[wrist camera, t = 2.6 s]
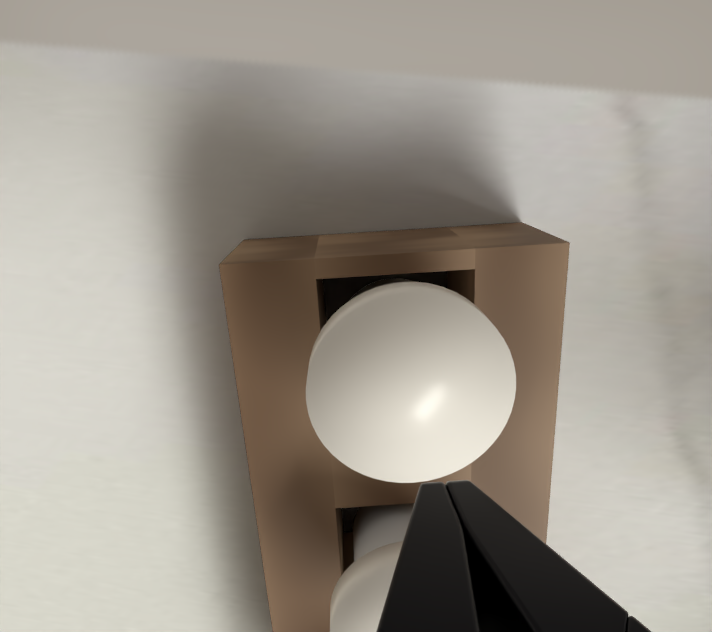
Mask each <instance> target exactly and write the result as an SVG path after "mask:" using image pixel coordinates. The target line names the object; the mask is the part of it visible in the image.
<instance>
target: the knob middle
mask: <svg viewBox="0 0 712 632" xmlns="http://www.w3.org/2000/svg"><path fill="white" fill-rule="evenodd" d="M413 507H414V503H408V504H393V505H378V506H364V507H360V509H359V510H358V512H357V514H356V516H355V519H354V523H353V544H354V563H352V564H351V565H350V566H349V567H348V568H347V569H346V570H345V571H344V573H343V574H342V576H341V577H340V578H339V580H338V582H337V584H336V586H335V588H334V591H333V593H332V597H331V604H330V632H376V631H377V628H378V624H379V621H380V618H381V614H382V611H383V607H384V604H385V601H386V597H387V594H388V591H389V587H390V584H391V581H392V577H393V574H394V571H395V567H396V564H397V561H398V557H399V554H400V550H401V547H402V544H403V540H404V537H405V534H406V530H407V527H408V524H409V520H410V517H411V514H412V510H413Z"/></svg>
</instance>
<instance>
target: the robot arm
mask: <svg viewBox="0 0 712 632" xmlns="http://www.w3.org/2000/svg"><path fill="white" fill-rule="evenodd" d="M376 632H651V631H650V630H649V629H648V628H646V627H645V626H644V625H643V624H642V623H640V622H639V621H638V620H637V619H636V618H634V617H633V616H629V617H628V612H627V611H626V610H624V609H623V608H622V607H621V606H620V605H618V604H617V603H616V602H615V601H614V600H612V599H611V598H610V597H609V596H608V595H606V594H605V593H604V592H603V591H602V590H600V589H599V588H598V587H597V586H596V585H594V584H593V583H592V582H591V581H590V580H588V579H587V578H586V577H585V576H584V575H582V574H581V573H580V572H579V571H578V570H576V569H575V568H574V567H573V566H572V565H570V564H569V563H568V562H567V561H566V560H564V559H563V558H562V557H561V556H560V555H558V554H557V553H556V552H555V551H554V550H552V549H551V548H550V547H549V546H548V545H546V544H545V543H544V542H543V541H542V540H540V539H539V538H538V537H537V536H536V535H535V534H533V533H532V532H531V531H530V530H529V529H527V528H526V527H525V526H524V525H523V524H521V523H520V522H519V521H518V520H517V519H515V518H514V517H513V516H512V515H511V514H509V513H508V512H507V511H506V510H505V509H503V508H502V507H501V506H500V505H499V504H497V503H496V502H495V501H494V500H493V499H491V498H490V497H489V496H488V495H487V494H485V493H484V492H483V491H482V490H481V489H479V488H478V487H477V486H476V485H475V484H473V483H472V482H471V481H469V480H458V481H448V482H446V484H444V483H443V482H428V483H422V484H421V485H420V487H419V490H418V493H417V497H416V500H415V503H414V507H413V510H412V514H411V517H410V520H409V524H408V527H407V530H406V534H405V537H404V540H403V544H402V547H401V550H400V554H399V557H398V561H397V564H396V567H395V571H394V574H393V577H392V581H391V584H390V587H389V591H388V594H387V597H386V601H385V604H384V607H383V611H382V614H381V618H380V621H379V624H378V628H377V631H376Z"/></svg>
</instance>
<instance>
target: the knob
mask: <svg viewBox="0 0 712 632" xmlns="http://www.w3.org/2000/svg"><path fill="white" fill-rule="evenodd" d="M515 393H516V372H515V367H514V362H513V359H512V356H511V353H510V350H509V348H508V346H507V344H506V342H505V340H504V338H503V337H502V336H501V334H500V333H499V331H498V330H497V328H496V327H495V326H494V325H493V324H492V323H491V321H490V320H489V319H488V318H487V317H486V316H485V315H484V313H483V312H482V311H481V310H480V309H479V308H478V307H477V306H476V305H474V304H473V303H472V302H471V301H469V300H468V299H467V298H465V297H463V296H462V295H460V294H458V293H457V292H454V291H452V290H450V289H447V288H445V287H442V286H438V285H434V284H430V283H422V282H414V281H411V280H408V279H402V278H388V279H382V280H378V281H375V282H373V283H370V284H368V285H366V286H365V287H363V288H362V289H360V290H359V291H358V292H356V293H355V294H354V295H353V296H352V298H351V299H350V300H349V301H348V302H347V303H346V304H344V305H343V306H342V307H340V308H339V309H338V310H337V311H336V312H335V313H334V314H333V315H332V316H331V318H330V319H329V320H328V321H327V323H326V324H325V325H324V326H323V328H322V330H321V331H320V333H319V335H318V337H317V339H316V341H315V344H314V346H313V349H312V352H311V356H310V360H309V367H308V374H307V382H306V404H307V409H308V414H309V417H310V420H311V423H312V426H313V428H314V430H315V432H316V434H317V436H318V437H319V439H320V440H321V442H322V443H323V445H324V446H325V447H326V448H327V449H328V450H329V452H330V453H331V454H332V455H333V456H334V457H336V458H337V459H338V460H339V461H340V462H342V463H343V464H345V465H346V466H348V467H349V468H351V469H352V470H354V471H357V472H359V473H361V474H363V475H365V476H368V477H371V478H374V479H378V480H383V481H387V482H397V483H416V482H424V481H429V480H433V479H438V478H441V477H444V476H447V475H449V474H452V473H454V472H456V471H458V470H460V469H462V468H464V467H466V466H467V465H469V464H470V463H472V462H473V461H475V460H476V459H477V458H478V457H480V456H481V455H482V454H483V453H484V452H485V451H486V450H487V449H488V448H489V447H490V446H491V445H492V444H493V443H494V442H495V440H496V439H497V438H498V436H499V435H500V434H501V432H502V430H503V429H504V427H505V425H506V423H507V421H508V419H509V416H510V414H511V412H512V408H513V404H514V400H515Z"/></svg>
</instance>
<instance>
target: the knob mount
mask: <svg viewBox="0 0 712 632" xmlns="http://www.w3.org/2000/svg"><path fill="white" fill-rule="evenodd" d="M569 244H570V243H569V242H567V241H564V240H562V239H560V238H557V237H555V236H553V235H550V234H548V233H546V232H543V231H541V230H539V229H536V228H534V227H531V226H529V225H527V224H524V223H522V222H521V223H505V224H489V225H473V226H457V227H441V228H424V229H408V230H392V231H376V232H360V233H344V234H328V235H312V236H296V237H280V238H264V239H248V240H243V241H242V242H241V243H240V244H239V245H238V246H237V247H236V248H235V249H234V250H233V251H232V252H231V253H230V254H229V255H228V256H227V257H226V258H225V259H224V260H223V261H222V262H221V263H220V264H219V269H220V276H221V282H222V289H223V296H224V303H225V310H226V316H227V323H228V330H229V337H230V344H231V350H232V357H233V364H234V371H235V378H236V384H237V391H238V398H239V405H240V412H241V419H242V425H243V432H244V439H245V446H246V453H247V459H248V466H249V473H250V480H251V487H252V493H253V500H254V507H255V514H256V521H257V527H258V534H259V541H260V548H261V555H262V561H263V568H264V575H265V582H266V589H267V596H268V602H269V609H270V616H271V623H272V630H273V632H330V604H331V597H332V593H333V591H334V588H335V586H336V584H337V582H338V580H339V578H340V577H341V576H342V574H343V573H344V571H345V570H346V569H347V568H348V567H349V566H350V565H351V564H352V563H354V544H353V532H348V533H343V522H342V510H341V508H349V507H364V506H378V505H393V504H408V503H415V500H416V497H417V493H418V490H419V487H420V485H421V484H422V483H428V482H443V483H444V484H446V482H448V481H458V480H469V481H471V482H472V483H473V484H475V485H476V486H477V487H478V488H479V489H481V490H482V491H483V492H484V493H485V494H487V495H488V496H489V497H490V498H491V499H493V500H494V501H495V502H496V503H497V504H499V505H500V506H501V507H502V508H503V509H505V510H506V511H507V512H508V513H509V514H511V515H512V516H513V517H514V518H515V519H517V520H518V521H519V522H520V523H521V524H523V525H524V526H525V527H526V528H527V529H529V530H530V531H531V532H532V533H533V534H535V535H536V536H537V537H538V538H539V539H540V540H542V541H543V542H544V543H545V544H546V537H547V524H548V512H549V499H550V486H551V474H552V461H553V448H554V435H555V423H556V410H557V397H558V384H559V372H560V359H561V346H562V333H563V321H564V308H565V295H566V282H567V270H568V257H569ZM438 271H447V289H450V290H452V291H454V292H457V293H458V294H460V295H462V296H463V297H465V298H467V299H468V300H469V301H471V302H472V303H473V304H474V305H476V306H477V307H478V308H479V309H480V310H481V311H482V312H483V313H484V315H485V316H486V317H487V318H488V319H489V320H490V321H491V323H492V324H493V325H494V326H495V327H496V328H497V330H498V331H499V333H500V334H501V336H502V337H503V338H504V340H505V342H506V344H507V346H508V348H509V350H510V353H511V356H512V359H513V362H514V367H515V372H516V393H515V400H514V404H513V408H512V412H511V414H510V416H509V419H508V421H507V423H506V425H505V427H504V429H503V430H502V432H501V434H500V435H499V436H498V438H497V439H496V440H495V442H494V443H493V444H492V445H491V446H490V447H489V448H488V449H487V450H486V451H485V452H484V453H483V454H482V455H481V456H480V457H478V458H477V459H476V460H475V461H473V462H472V463H470V464H469V465H467V466H466V467H464V468H462V469H460V470H458V471H456V472H454V473H452V474H449V475H447V476H444V477H441V478H438V479H433V480H429V481H424V482H416V483H397V482H387V481H383V480H378V479H374V478H371V477H368V476H365V475H363V474H361V473H359V472H357V471H354V470H352V469H351V468H349V467H348V466H346V465H345V464H343V463H342V462H340V461H339V460H338V459H337V458H336V457H334V456H333V455H332V454H331V453H330V452H329V450H328V449H327V448H326V447H325V446H324V445H323V443H322V442H321V440H320V439H319V437H318V436H317V434H316V432H315V430H314V428H313V426H312V423H311V420H310V417H309V414H308V409H307V404H306V382H307V374H308V367H309V360H310V356H311V352H312V349H313V346H314V344H315V341H316V339H317V337H318V335H319V333H320V331H321V330H322V328H323V326H324V325H325V324H326V311H325V299H324V286H323V279H327V278H343V277H359V276H375V275H391V274H406V273H422V272H438Z"/></svg>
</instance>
